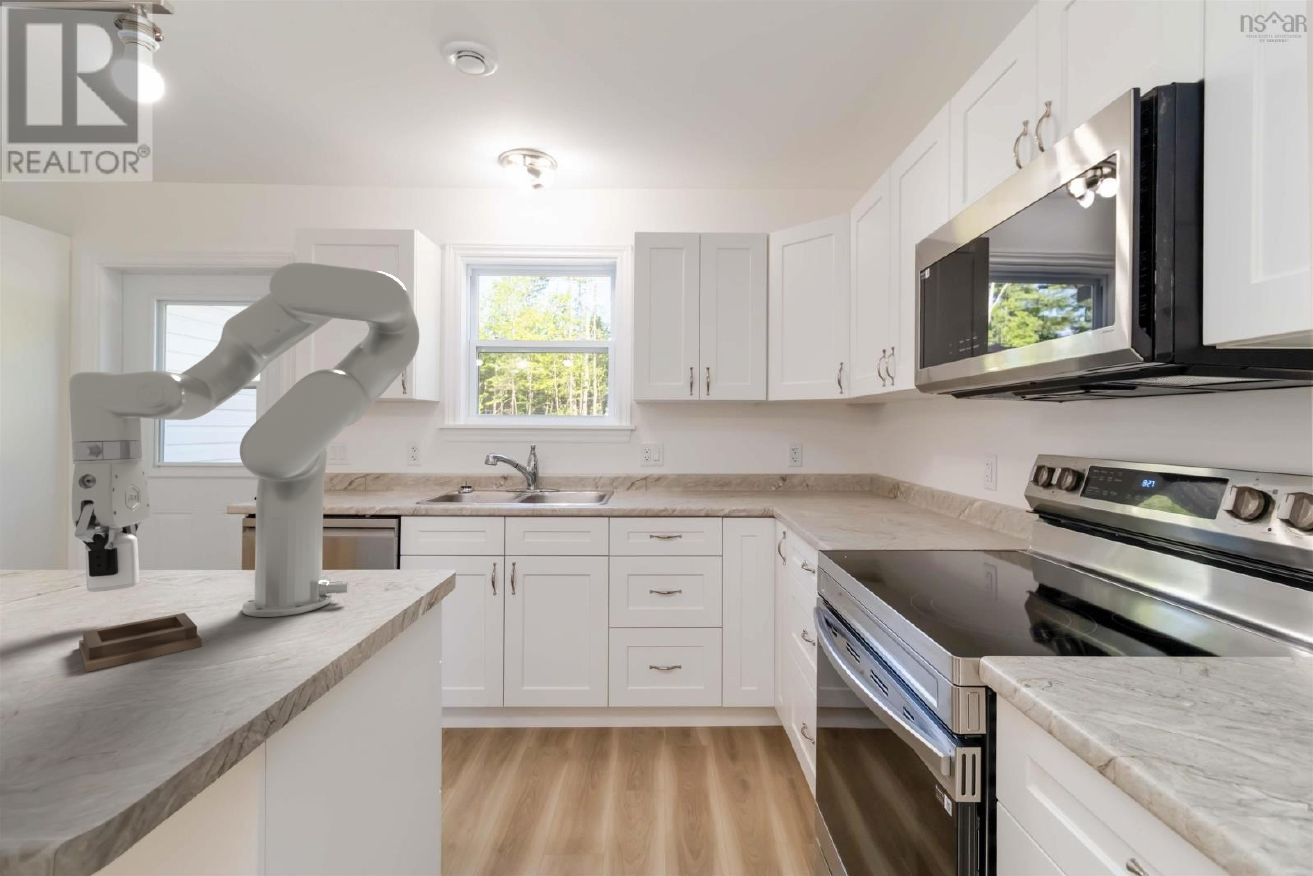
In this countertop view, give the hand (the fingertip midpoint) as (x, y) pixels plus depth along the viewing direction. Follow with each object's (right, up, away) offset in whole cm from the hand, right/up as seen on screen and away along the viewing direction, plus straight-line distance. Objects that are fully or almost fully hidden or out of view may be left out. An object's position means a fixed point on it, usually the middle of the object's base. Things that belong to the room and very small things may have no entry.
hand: (113, 570), depth 83 cm
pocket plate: (+13, -8, -9) cm, 18 cm away
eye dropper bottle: (0, -3, 0) cm, 3 cm away
